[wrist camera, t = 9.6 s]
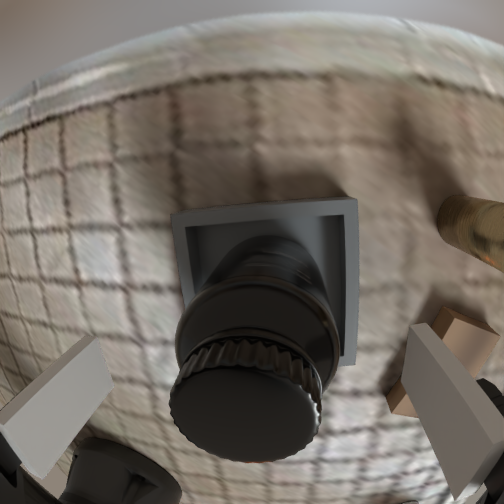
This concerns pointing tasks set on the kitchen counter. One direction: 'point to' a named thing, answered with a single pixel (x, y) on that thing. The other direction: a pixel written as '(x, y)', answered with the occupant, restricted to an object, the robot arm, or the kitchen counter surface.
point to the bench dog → (474, 227)
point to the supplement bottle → (255, 354)
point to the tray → (288, 226)
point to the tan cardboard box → (460, 344)
